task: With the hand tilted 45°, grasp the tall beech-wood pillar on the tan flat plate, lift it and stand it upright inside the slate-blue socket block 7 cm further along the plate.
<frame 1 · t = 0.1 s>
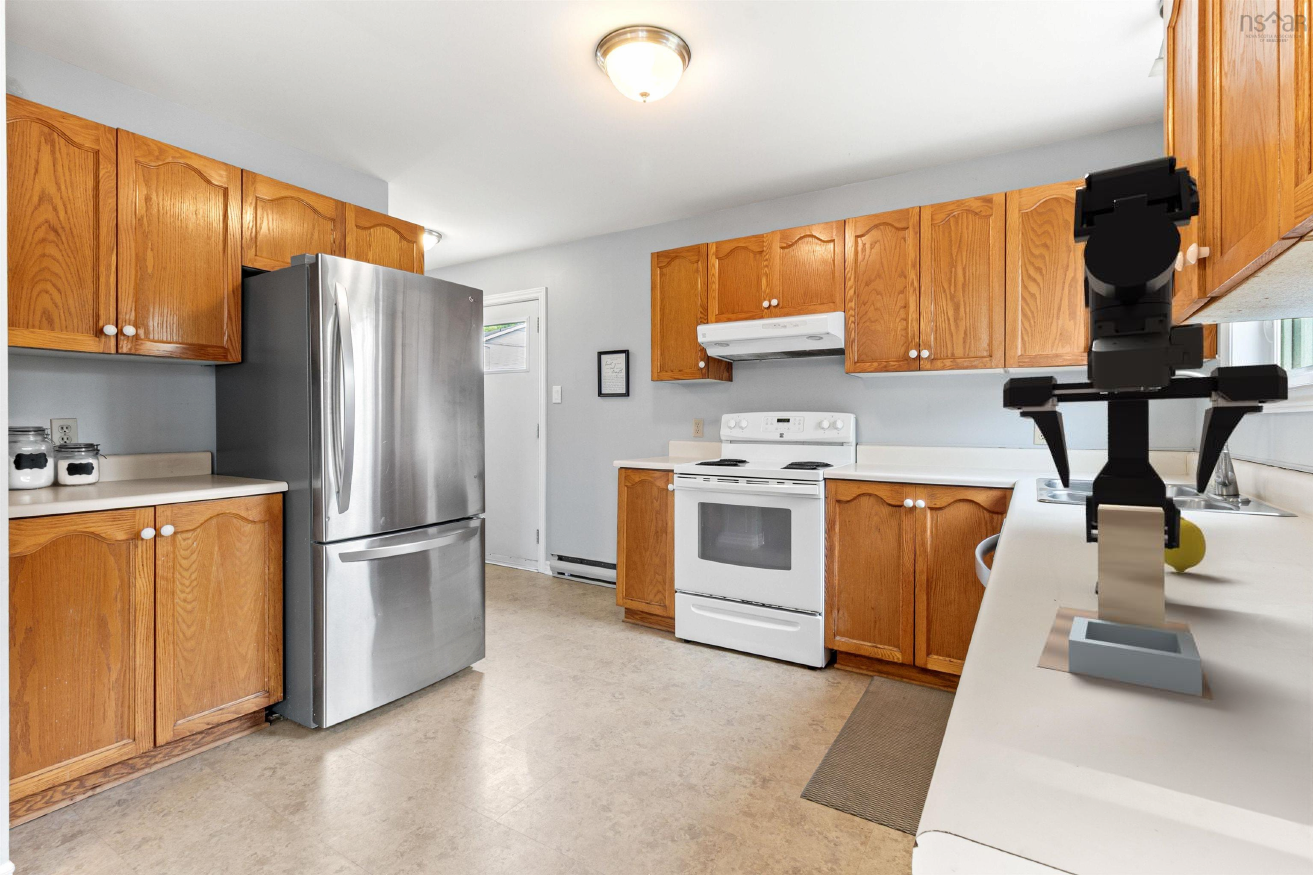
hand: (1130, 490, 54), 15 cm above the table, tool pointing down, fingers open, 9 cm apart
lemon: (1180, 573, 88), on the table
slate socket block: (1131, 667, 49), resting on tan flat plate
tan flat plate: (1119, 653, 55), on the table
beech pillar: (1130, 644, 55), point 1 cm above the table, touching tan flat plate
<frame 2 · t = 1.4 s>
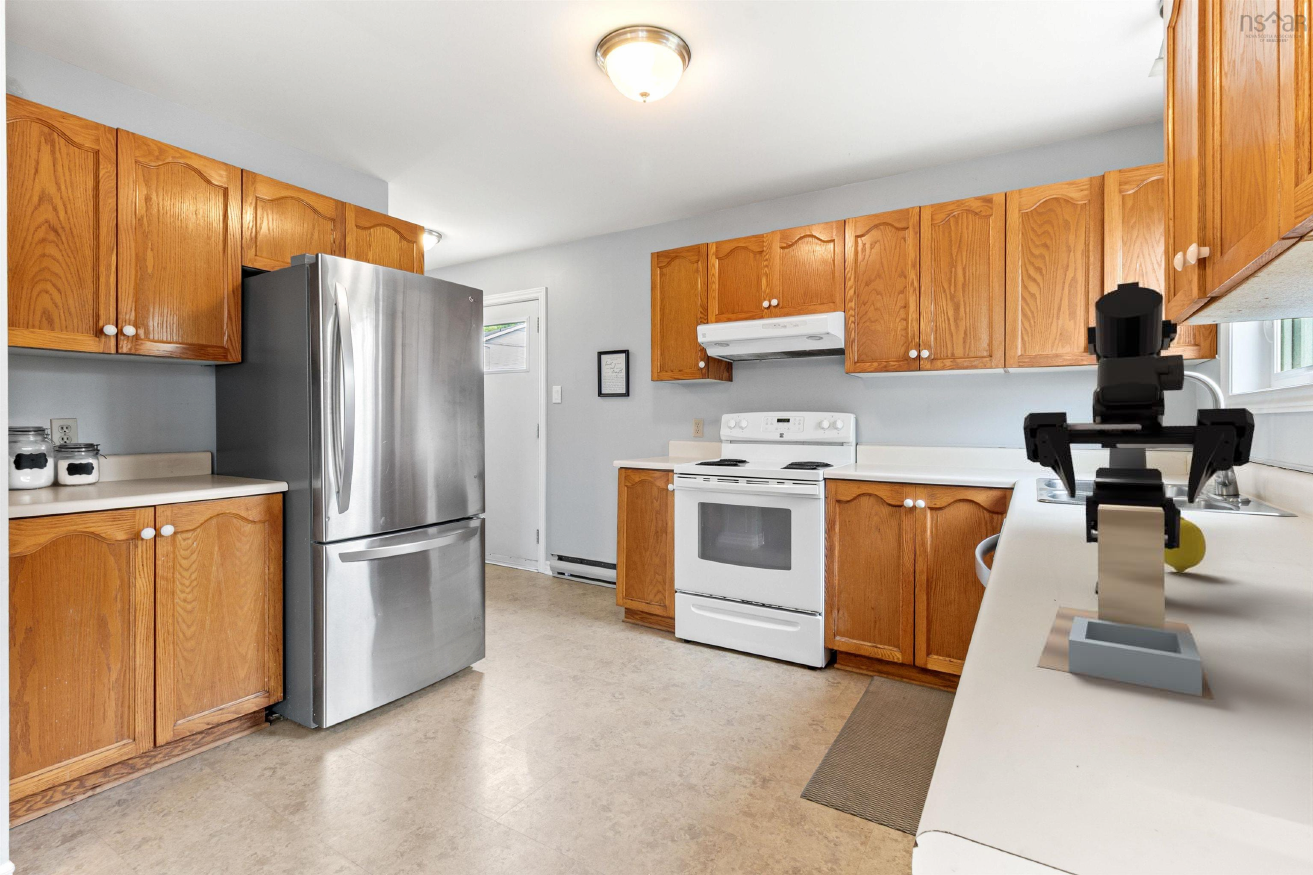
hand: (1129, 497, 60), 13 cm above the table, tool tilted 45°, fingers open, 9 cm apart
nothing on the table moved.
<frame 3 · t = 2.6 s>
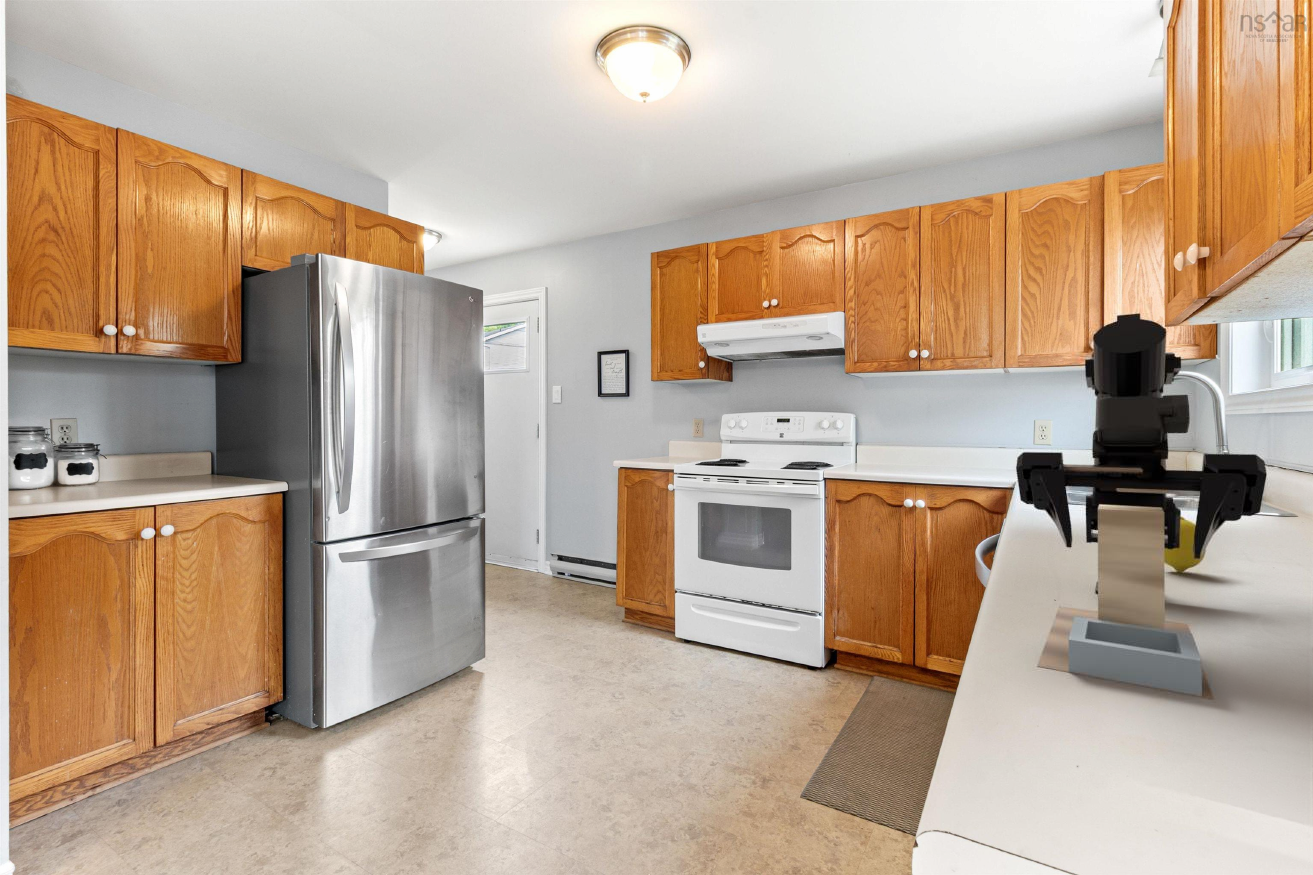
hand: (1129, 549, 56), 9 cm above the table, tool tilted 45°, fingers open, 9 cm apart
nothing on the table moved.
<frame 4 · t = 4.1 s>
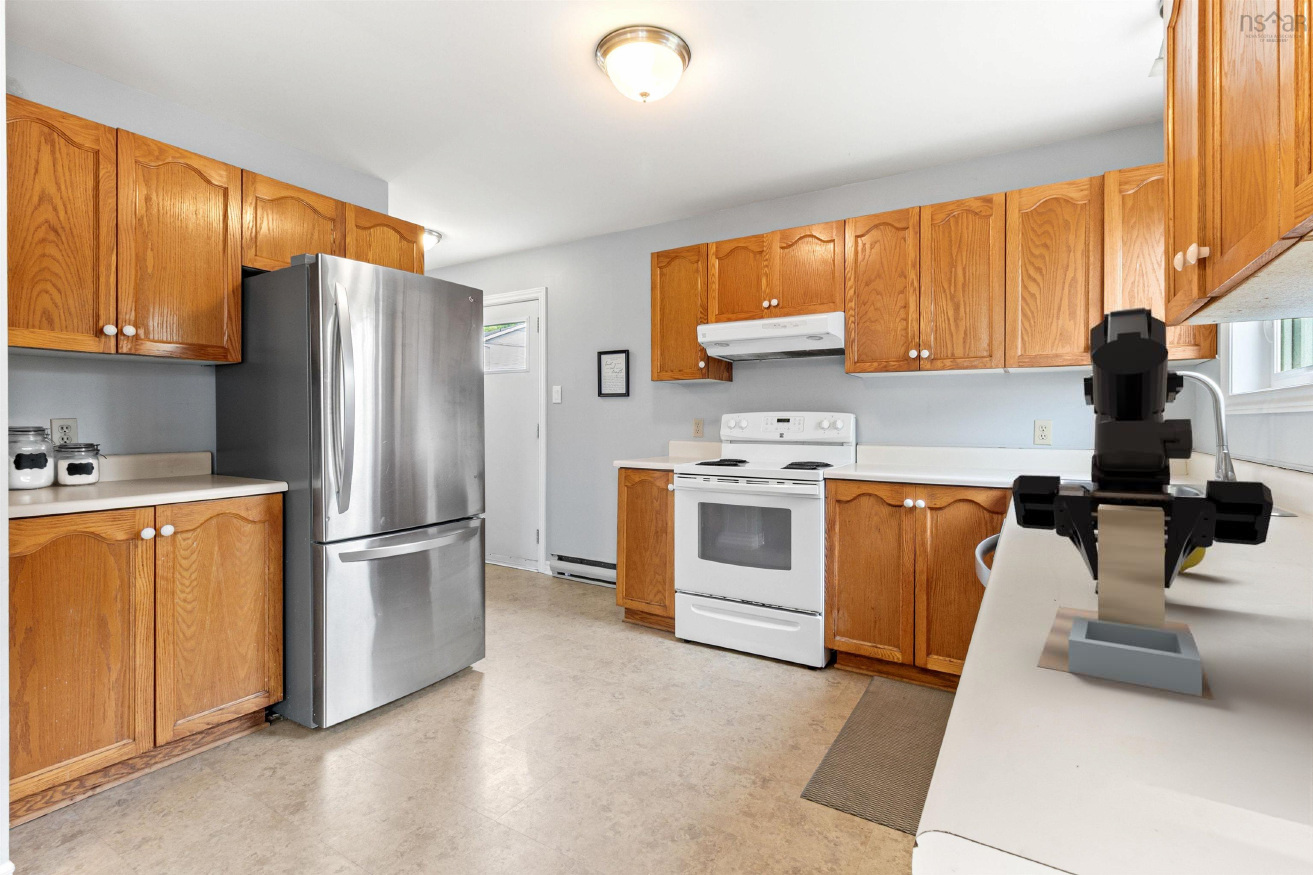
hand: (1130, 581, 53), 7 cm above the table, tool tilted 45°, fingers closed on beech pillar, 4 cm apart
beech pillar: (1130, 644, 55), point 1 cm above the table, touching gripper, tan flat plate
everything else where it was.
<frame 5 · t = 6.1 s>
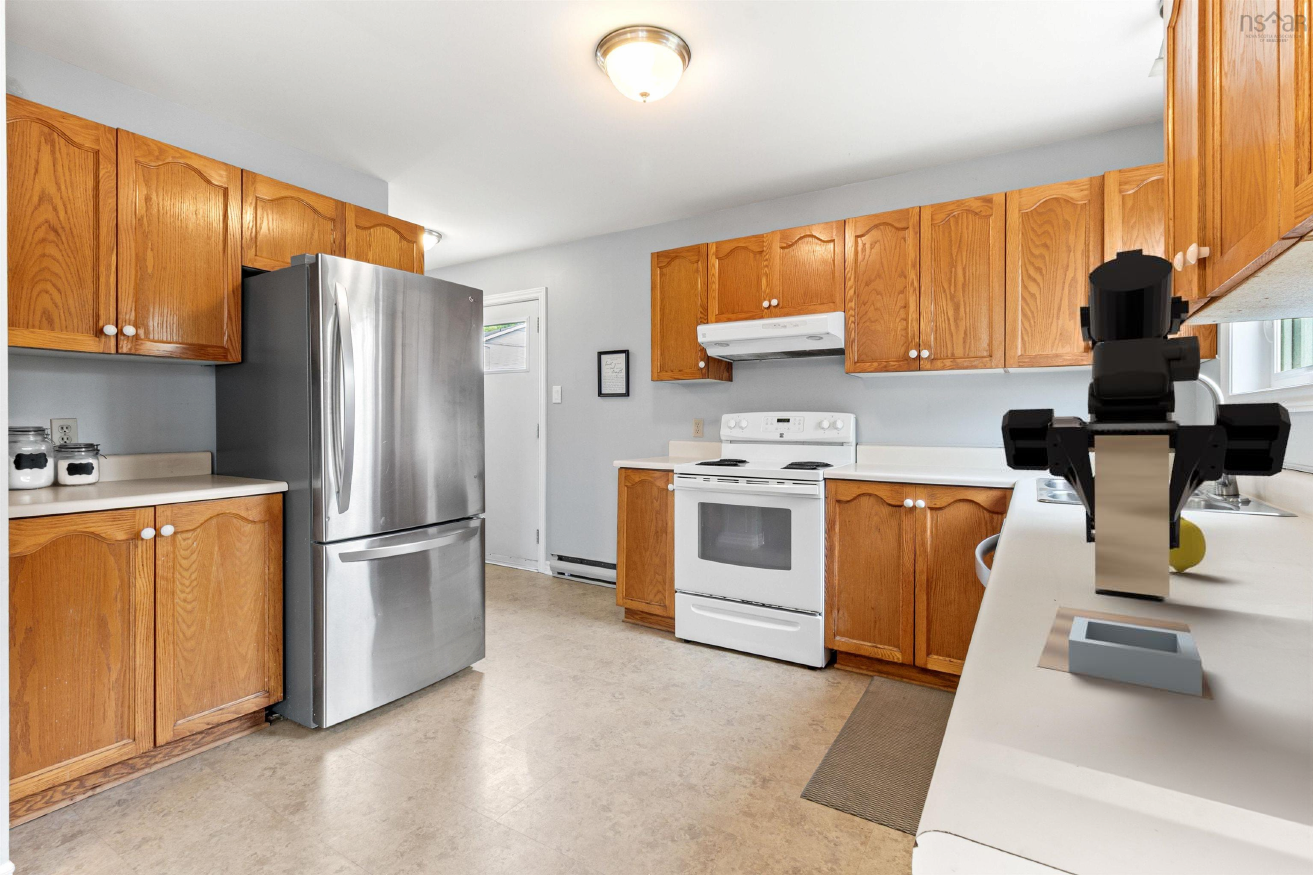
hand: (1130, 515, 48), 13 cm above the table, tool tilted 45°, fingers closed on beech pillar, 4 cm apart
beech pillar: (1131, 586, 49), point 7 cm above the table, touching gripper
everything else where it was.
when the fingers open (8 cm above the table, at t = 8.1 s): beech pillar stays where it is, resting on tan flat plate.
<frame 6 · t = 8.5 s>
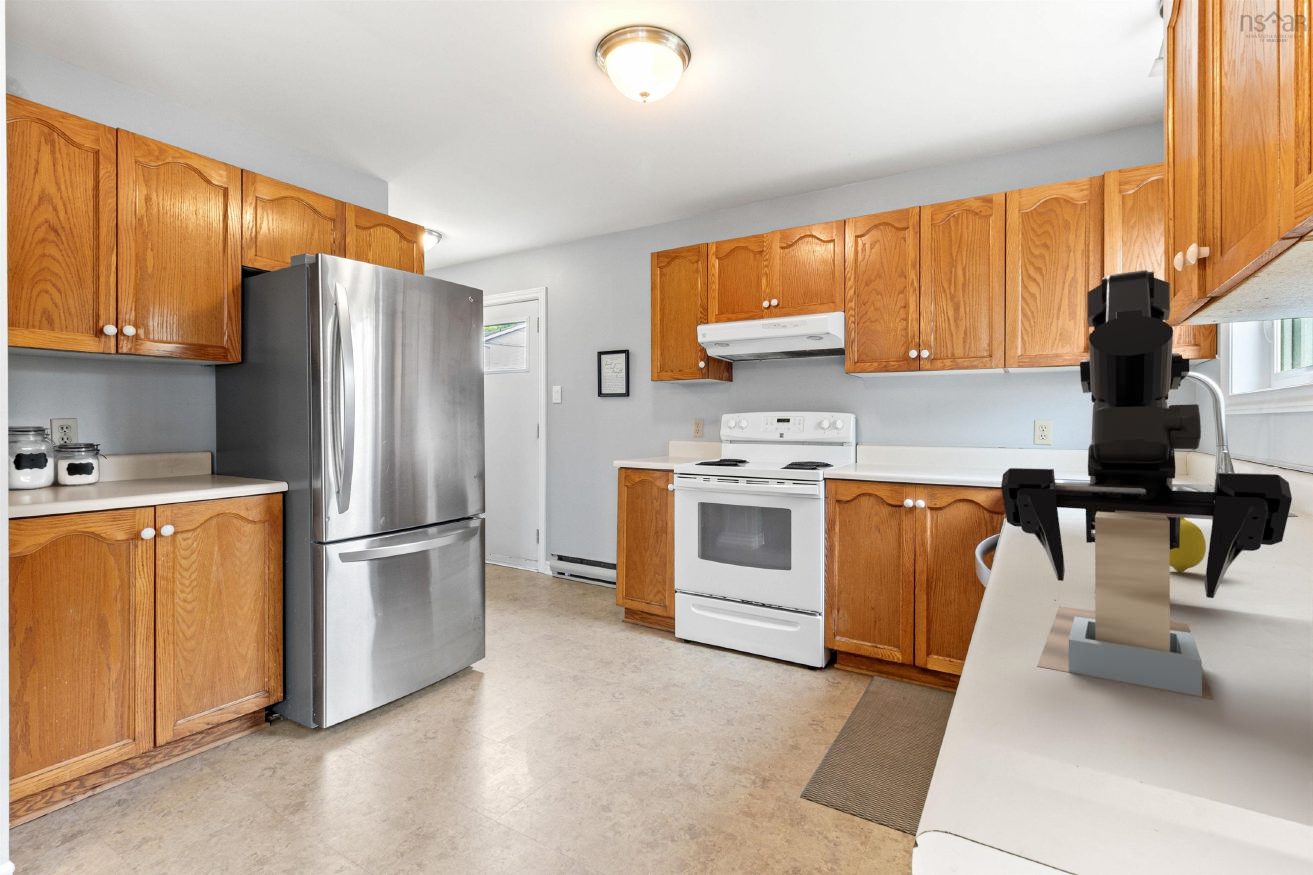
hand: (1131, 585, 48), 8 cm above the table, tool tilted 45°, fingers open, 9 cm apart
beech pillar: (1131, 667, 49), point 1 cm above the table, touching tan flat plate
everything else where it was.
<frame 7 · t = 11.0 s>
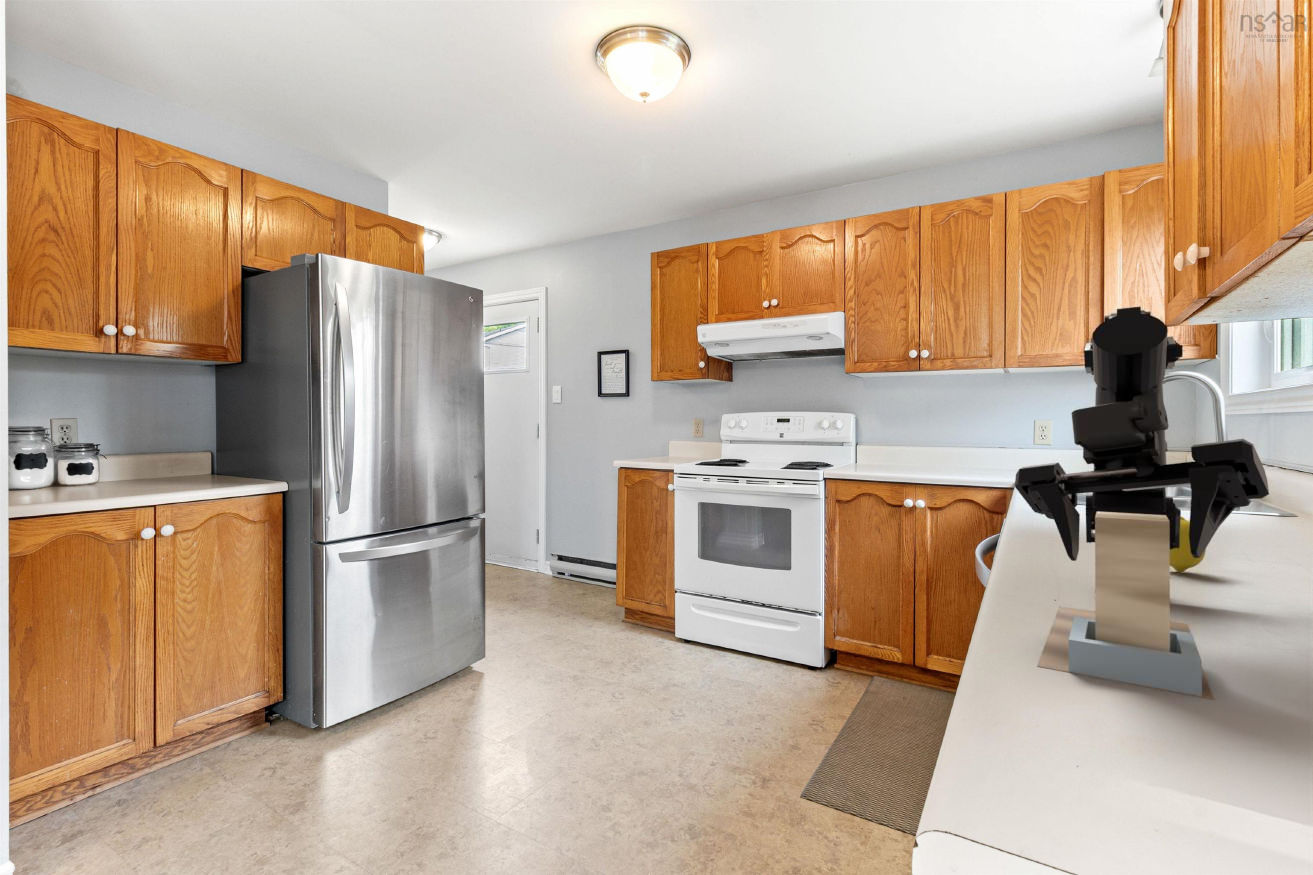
hand: (1129, 557, 56), 8 cm above the table, tool tilted 40°, fingers open, 9 cm apart
nothing on the table moved.
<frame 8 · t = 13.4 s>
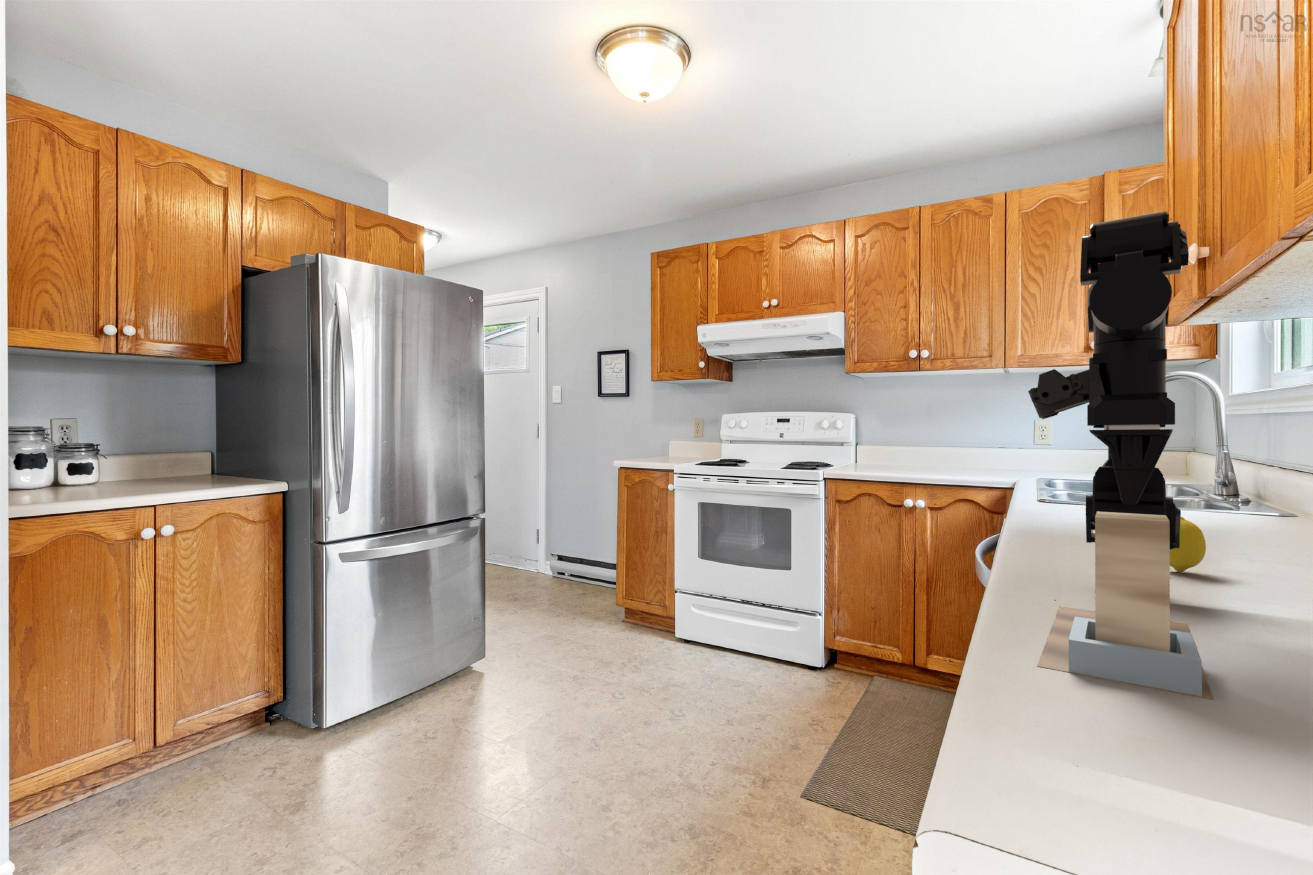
hand: (1129, 500, 62), 13 cm above the table, tool pointing down, fingers open, 9 cm apart
nothing on the table moved.
at the end: beech pillar 0.0 cm off-centre on the slate socket block, point 0.0 cm above the slate socket block's base; beech pillar tilted 0°; the gripper is holding nothing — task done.
